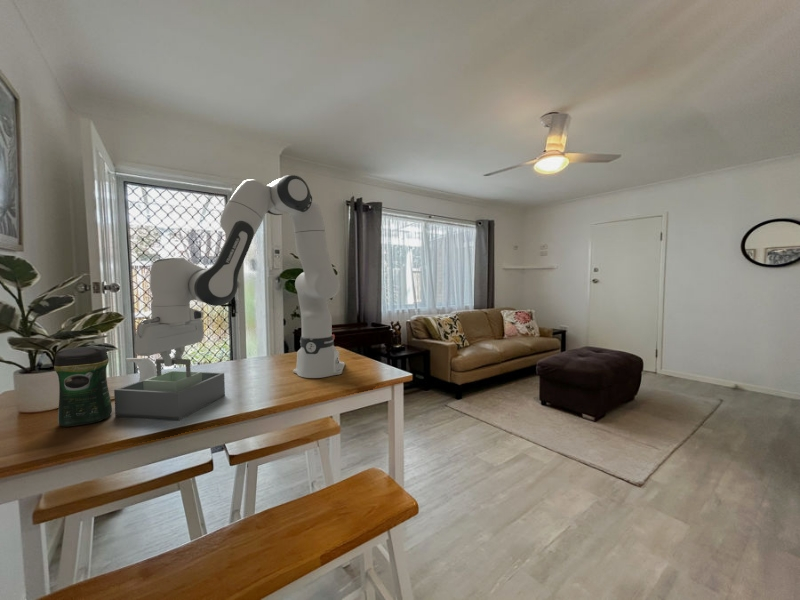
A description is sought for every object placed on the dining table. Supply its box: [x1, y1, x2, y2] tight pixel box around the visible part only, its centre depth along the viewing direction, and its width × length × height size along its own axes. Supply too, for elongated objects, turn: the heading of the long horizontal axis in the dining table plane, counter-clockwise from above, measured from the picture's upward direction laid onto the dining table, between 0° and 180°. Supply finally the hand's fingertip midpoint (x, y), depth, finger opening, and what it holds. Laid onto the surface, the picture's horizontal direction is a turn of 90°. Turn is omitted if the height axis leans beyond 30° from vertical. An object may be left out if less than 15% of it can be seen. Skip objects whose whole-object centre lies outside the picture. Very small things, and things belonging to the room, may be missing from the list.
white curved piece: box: [125, 357, 157, 382], centre depth 101 cm, size 5×6×12 cm
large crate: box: [113, 370, 226, 421], centre depth 93 cm, size 18×18×7 cm
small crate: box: [143, 357, 203, 392], centre depth 93 cm, size 10×10×11 cm
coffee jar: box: [53, 346, 113, 427], centre depth 83 cm, size 10×8×19 cm
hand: (173, 364), depth 93 cm, fingers closed on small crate
